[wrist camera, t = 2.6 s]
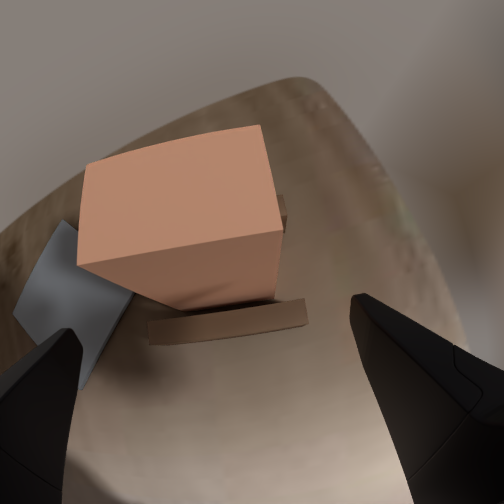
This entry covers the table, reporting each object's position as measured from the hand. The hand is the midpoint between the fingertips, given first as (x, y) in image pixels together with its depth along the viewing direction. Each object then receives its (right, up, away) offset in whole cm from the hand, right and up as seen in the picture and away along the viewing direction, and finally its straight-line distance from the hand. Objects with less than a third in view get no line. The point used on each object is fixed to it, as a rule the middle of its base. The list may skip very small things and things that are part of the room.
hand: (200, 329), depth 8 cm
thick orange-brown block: (0, 0, +11) cm, 11 cm away
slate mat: (-13, -2, +11) cm, 17 cm away
